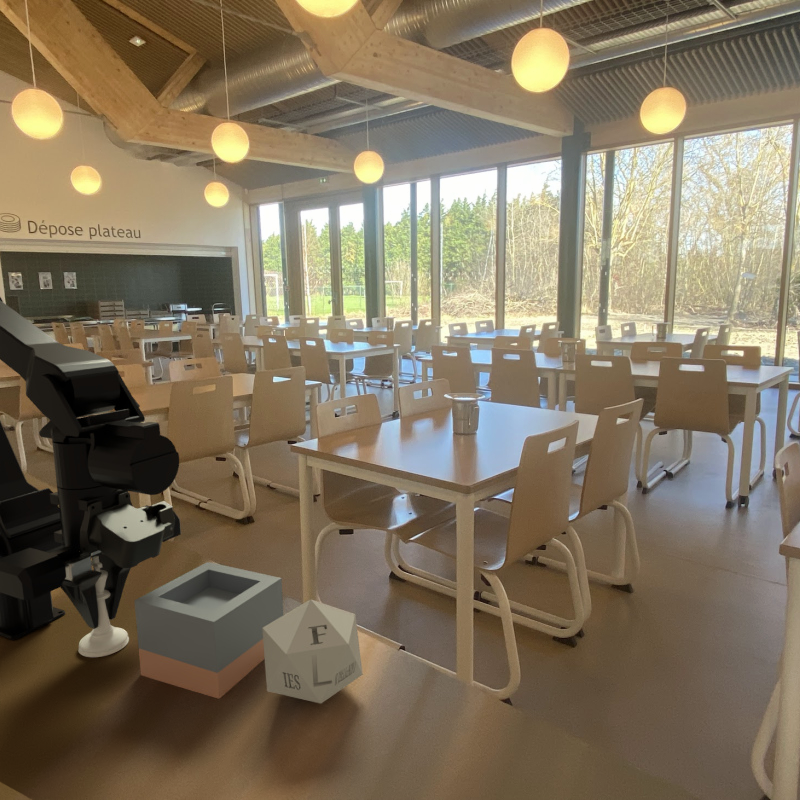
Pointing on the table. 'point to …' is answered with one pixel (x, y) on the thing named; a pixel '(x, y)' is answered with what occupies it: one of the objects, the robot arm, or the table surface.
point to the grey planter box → (206, 627)
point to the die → (311, 652)
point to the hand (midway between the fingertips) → (102, 622)
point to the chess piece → (102, 624)
